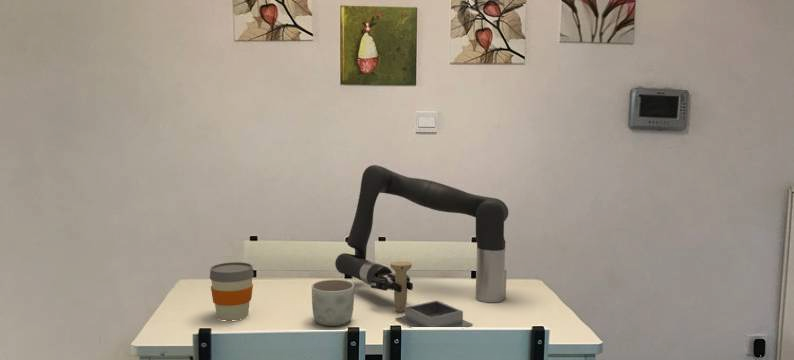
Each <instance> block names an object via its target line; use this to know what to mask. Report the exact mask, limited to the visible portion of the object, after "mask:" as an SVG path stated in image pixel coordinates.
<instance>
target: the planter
mask: <svg viewBox="0 0 794 360" xmlns="http://www.w3.org/2000/svg"><path fill="white" fill-rule="evenodd" d="M354 303H355V284H354V283H353V282H351V281H349V280H344V279H324V280H319V281H316V282H314V283H312V285H311V305H312V307H311V308H312V314H313V315H312V316H313V318H314V320H315V322H316V323H318V324H320V325H322V326H326V327H338V326H343V325H346V324H348V322H350V321H351V320H352V317H353V312H354Z"/></svg>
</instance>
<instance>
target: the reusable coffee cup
mask: <svg viewBox="0 0 794 360" xmlns="http://www.w3.org/2000/svg"><path fill="white" fill-rule="evenodd" d="M209 269H210V270H209V271H210V272H209V279H210V280H211V281H210V282H211V286H210V292H211V297H212V303H213V304H214V305H215V306H214V308H215V314H216V319H217V318H218V319H220V320H226V321H232V320H239V321H241V320H240V319H243V318H245V319H246V317H247V316H248V317H249V309H250V302H251V300H252V297H253V289H254V288H253V287H254V284H253V278H254V267H253V265H252V264H251V263H249V262H241V261H240V262H239V261H238V262H236V261H233V262H223V263H218V264H215V265H213V266H211V267H210V268H209ZM248 317H247V318H248ZM218 319H217V320H218ZM220 320H219V321H220ZM243 320H244V319H243ZM226 321H225V322H226ZM232 322H233V321H232Z"/></svg>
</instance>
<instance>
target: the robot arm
mask: <svg viewBox="0 0 794 360" xmlns="http://www.w3.org/2000/svg"><path fill="white" fill-rule="evenodd" d="M361 176H362V177H361V181H360V188H359V195H358V200H357V202H358V203H357V205H356V211H355V215H354V219H353V222H352V224H351V228H350V231H349V235H348V238H347V241H346V243H347V246H349V247H350V248H351V249H354V254H352V253H345V252H344V253H339V254H338V256H337V257H336V259H335V263H334V264H335V270H337V272H339V273H340V274H343V275H345V276H348V277H353V278H355V279H358V280H359V281H362V282H364V284H367V285H368V286H370V288H371V289H375V290H381V291H385V292H386V291H388V290H389V291H394V290H395V291H397V292H401V291H402V286H401V285H400V284H397V283H395V273H393V272H392V270H391V268H389V267H387V266H386V265H383V264H381V263H377V262H374V261H373V262H372V261H370V260H367V247H368V243H369V240H370V236H371V234H372V233H371V232H372V231H373V230H372V228H373V225H374V224H373V223H374V212H375V211H374V209H375V206H376V202H377V199H378V197H379V194H385V195H386V194H387V195H392V196H397V197H401V198H403V199H406V200H408V201H410V202H412V203H414V204H417V205H418V206H421V207H423V208H427V209H430V210H434V211H438V212H442V213H452V214H462V215H466V216H470V217H473V218H475V240H476V265H475V266H476V271H475V273H476V274H475V299H476V300H477V301H480V302H483V303H500V302H503V300H505V299H506V298H507V274H508V273H507V269H505V268H506V267H505V265H506V239H505V235H504V234H505V221H507V219H508V217H509V208H508V206H507V204H506V203H505V202H504V201H503V200H501V199H499V198H496V197H489V196H483V195H479V194H474V193H473V194H472V193H469V192H466V191H464V190H461V189H459V188H457V187H453V186H450V185H447V184H443V183H441V182H436V181H434V180H433V181H432V180H429V179H423V178H418V177H417V178H416V177H409V176H405V175H403V174H399V173H397V172H396V171H393V170H390V169H388V168H387V167H383V166H380V165H377V164H373V165H369V166H367V168H365V170H364V171H363V173H362V175H361ZM406 280H407V291H408V290H409V291H413V289H414V285H413V282H411V278H410V276H409V275H408V274H407V273H406Z"/></svg>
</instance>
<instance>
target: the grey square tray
mask: <svg viewBox="0 0 794 360" xmlns="http://www.w3.org/2000/svg"><path fill="white" fill-rule="evenodd" d="M395 321H396V322H398V323H400V324H402V323H403V324H402V325H403V326H406V325H407V326H406V327H408V326H409V327H408V328H410V327H466V328H469V327H468V326H470V327H472V326H473V323H471V322H469V321H467V320H465V319H464V311H463V310H461V309H458V308H456V307H454V306H451V305H449V304H446V303H444V302H443V301H439V300H433V301H429V302H424V303H418V304H414V305H410V306H409V305H408V306H405V311H404V316H403V315H402V316H400V317H395Z"/></svg>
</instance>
